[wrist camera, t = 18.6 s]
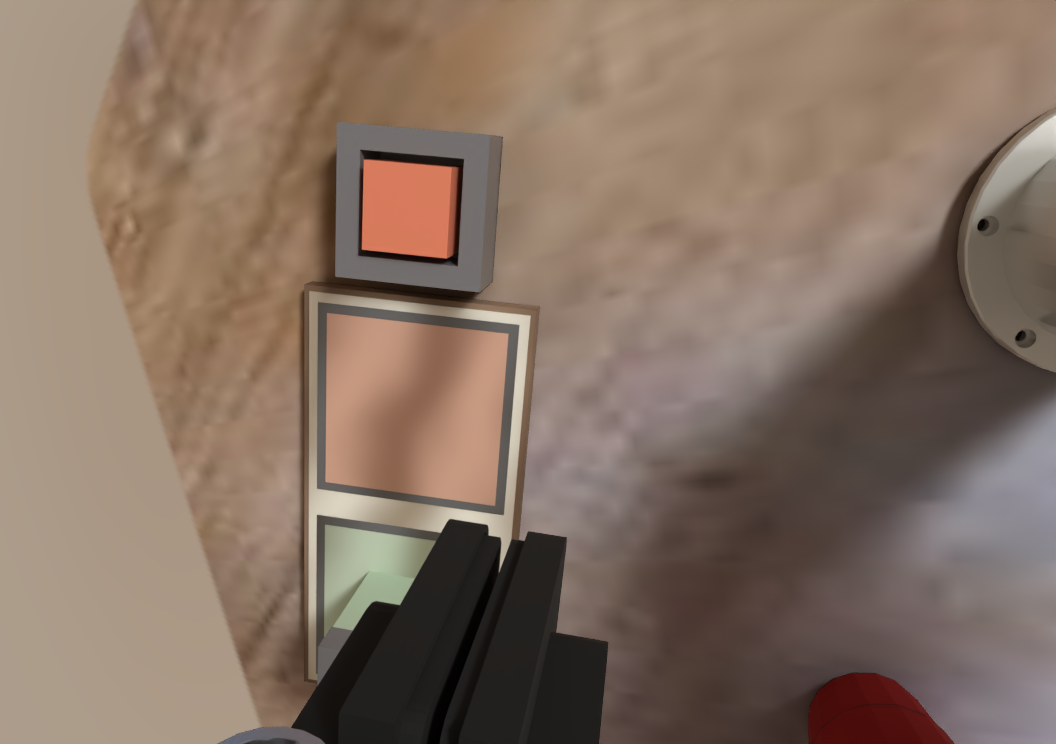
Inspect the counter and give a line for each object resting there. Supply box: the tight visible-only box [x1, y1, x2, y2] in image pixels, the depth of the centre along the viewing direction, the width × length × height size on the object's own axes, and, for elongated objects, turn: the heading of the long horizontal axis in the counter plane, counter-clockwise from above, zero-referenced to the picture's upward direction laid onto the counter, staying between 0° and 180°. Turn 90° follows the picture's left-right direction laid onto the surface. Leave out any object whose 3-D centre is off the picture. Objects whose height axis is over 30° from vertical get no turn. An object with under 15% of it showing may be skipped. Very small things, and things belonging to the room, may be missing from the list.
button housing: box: [335, 122, 503, 292], centre depth 36 cm, size 7×7×3 cm
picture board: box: [304, 281, 540, 683], centre depth 42 cm, size 12×24×1 cm, turn 175°
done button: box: [362, 159, 464, 259], centre depth 36 cm, size 4×4×3 cm
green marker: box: [317, 571, 415, 686], centre depth 40 cm, size 4×4×7 cm
